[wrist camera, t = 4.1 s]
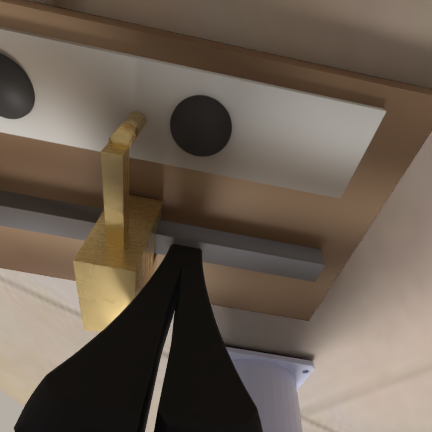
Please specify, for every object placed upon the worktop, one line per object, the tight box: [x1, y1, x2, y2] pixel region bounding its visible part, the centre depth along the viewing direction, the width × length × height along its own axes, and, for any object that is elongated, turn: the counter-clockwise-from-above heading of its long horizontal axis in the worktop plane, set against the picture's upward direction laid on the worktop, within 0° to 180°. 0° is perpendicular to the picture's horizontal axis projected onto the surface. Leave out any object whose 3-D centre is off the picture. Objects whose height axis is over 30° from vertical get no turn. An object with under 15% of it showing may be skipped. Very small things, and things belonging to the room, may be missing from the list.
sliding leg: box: [73, 111, 162, 332], centre depth 11 cm, size 8×2×4 cm, turn 170°
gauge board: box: [0, 0, 432, 321], centre depth 12 cm, size 13×24×5 cm, turn 80°
